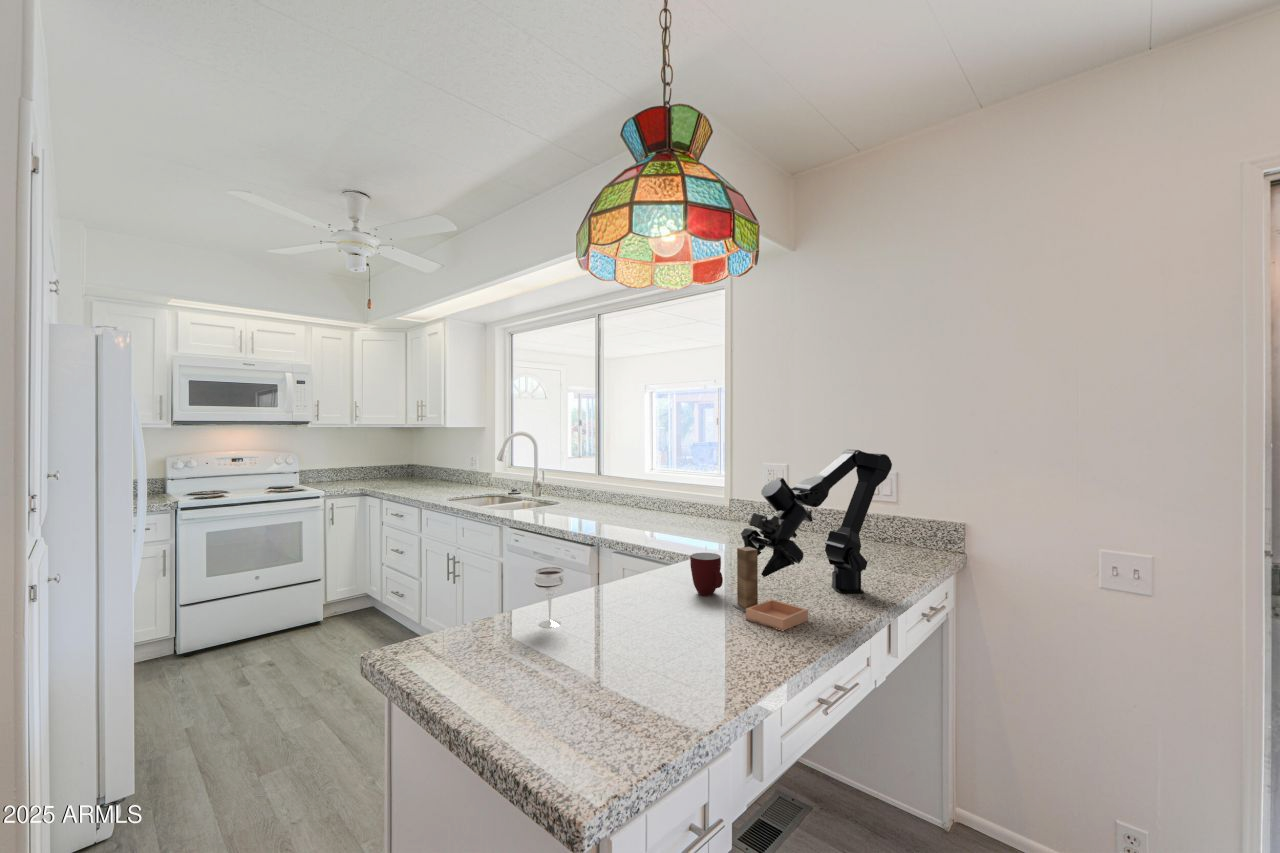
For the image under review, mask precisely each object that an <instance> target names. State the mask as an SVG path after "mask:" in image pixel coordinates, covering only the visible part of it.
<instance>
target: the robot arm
mask: <svg viewBox="0 0 1280 853" xmlns="http://www.w3.org/2000/svg"><path fill="white" fill-rule="evenodd" d="M892 467H893V463H892V461H891V458H890V457H889V456H888V455H887V454H885V453H868V452H866V451H865V452H864V451H862V450H859V449H846V450H844V451H843V452H842V453H841V455H840V456H838V457H837V458H836V459H835V460H833V461H832V462H831V463H830V464H829V465H827V466H826V467H825V468H824V469H823V470H821V471H820V472H819V473H818V474H817V475H815V476H812V477H810V478H806V479H803V480H801V481H800V482H797V483H796V484H795V485H794V486H793V487H790V486H789V484H788V483H787V481H786V480H785V478H784V477H776V478H775V480H772V481H770V482H768V483H767V484H765V485H764V486H763V487H762V489H761V491H760V492H761V496H762V497H763V498H764V499H765V500H766V502H767V503H768V504H769V505H770V506H771V507H772V508H773V510H774V511H776V512H779V513H778V514H777V515H773V514H769V515H768V516H767V515H763V514H758V513H752V516H751V518H750V520H749V523H748V525H749V526H751V527H753V528H757V529H759V531H758V530H756V529H752V528H749V527H747V528H744V529H743V530H742V531H741V532H740V536H741V540H743V543H744V544H743V545H744V547H751V548H754V549H757V554H758V556H760V555H761V553H762V552H761V551H762V550H764V549H765V548H770V549H772V555H771V557H770V559H769V560H768V562H767V563H766V565H765V567H764V568H763V570H762V572H761V576H762V577H763V578H766V577H767V576H770V575H772V574H773V573H776V572H778V571H780V570H782V569H785V568H786V567H789V566H794V565H795V564H798V565H799V564H800V563H801V562H802V561H803V560H804V552H803V550H802V549H801V548H800V547H799V545H797V543H796V542H795V541H794V540H792V539H791V538H793V539H796V538H797V537H798V534H797V533H796V531H797V530H798V529H799V528H800V526H801V525H802V523H803V522H804V521H806V522H810V523H811V522H813V520H814V519H813V515H812V511H811V510H807V509H806V508H805V507H804V506H806V507H811V508H819V507H820V506H821V505H822V504H823V503H824V502H825V501H826V499H827V498H828V497H829V493H830V490H831V489H832V488H833V487H834V486H836V484H837V483H838V482H840V481H841V480H842V479H843V478H845V477H846V476H847V475H848V474H850V472H851V471H853V470H854V469H855V468H856V470H855V472H856V475H857V480H858V481H857V484H856V485H855V488H854V491H853V494H852V496H851V499H850V502H849V504H848V507H847V509H846V511H845V512H846V513H845V514H844V518H843V520H842V523H841V525H840V527H839V528H838V529H836V531H835V530H830V531H829V533H828V537H827V539H826V541H825V542H824V544H825V547H824V548H825V549H824V553H825V554H826V557H827V560H828V563H829V565H831V566H833V571H831V572H832V573H831V579H832V581H831V587H832V588H833V589H835V591H837V592H838V593H840V594H864V593H865V590H863V589H862V572H863V571H864V570H867V565H868V561H867V560H866V559H865V558H864V556H863V555H862V554H861V549H862V543H861V537H860V533H861V530H862V527H863V525H864V523H865V519H866V516H867V513H868V511H869V508H870V506H871V502H872V501H873V498H874V496H875V493H876V490H877V487H878V486H879V485H881V484H882V483H883V482H884V481H885V480H887V478H888V476H889V474H890V472H891V470H892Z"/></svg>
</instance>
